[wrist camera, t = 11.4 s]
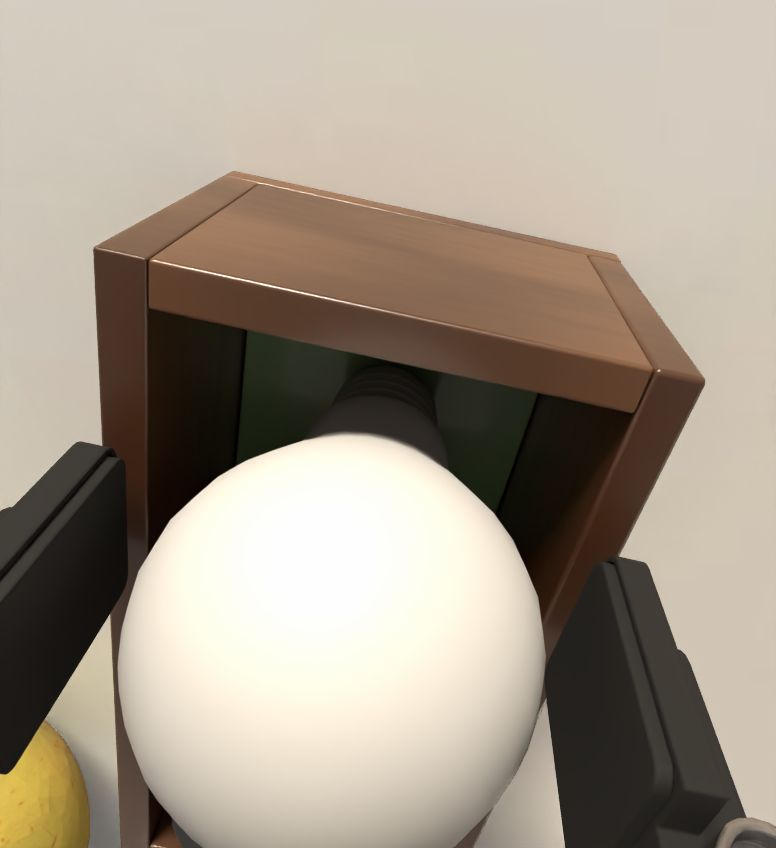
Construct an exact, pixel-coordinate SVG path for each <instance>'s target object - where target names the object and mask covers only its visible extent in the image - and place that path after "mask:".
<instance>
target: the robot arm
mask: <svg viewBox="0 0 776 848" xmlns="http://www.w3.org/2000/svg"><path fill="white" fill-rule="evenodd" d="M127 579H128V539H127V500H126V466H125V462H124V460H123V459H119V458H117V455H116V452H115V450H114V449H112V448H109V447H104V446H99V445H95V444H90V443H85V442H77V443H75V444H74V445H73V446H72V447H71V448H70V449H69V450H68V451H67V452H66V453H65V454H64V455H63V456H62V457H61V458H60V459H59V460H58V461H57V462H56V463H55V464H54V465H53V466H52V467H51V468H50V469H49V470H48V471H47V472H46V473H45V474H44V476H43V477H42V478H41V479H40V480H39V481H38V482H37V483H36V484H35V485H34V486H33V487H32V488H31V489H30V490H29V491H28V492H27V493H26V494H25V495H24V496H23V497H22V498H21V499H20V500H19V501H18V502H17V503H16V504H15V505H14V506H13V507H9V508H6V509H3V510H1V511H0V774H3V775H6V774H8V773H10V772H11V771H12V770H13V768H14V767H15V766H16V764H17V763H18V761H19V760H20V758H21V756H22V755H23V753H24V751H25V750H26V748H27V747H28V745H29V743H30V742H31V740H32V739H33V737H34V735H35V734H36V732H37V731H38V729H39V727H40V726H41V724H42V722H43V721H44V719H45V718H46V716H47V714H48V713H49V711H50V710H51V708H52V706H53V705H54V703H55V702H56V700H57V698H58V697H59V695H60V693H61V692H62V690H63V689H64V687H65V685H66V684H67V682H68V681H69V679H70V677H71V676H72V674H73V673H74V671H75V669H76V668H77V666H78V664H79V663H80V661H81V660H82V658H83V656H84V655H85V653H86V652H87V650H88V648H89V647H90V645H91V644H92V642H93V640H94V639H95V637H96V635H97V634H98V632H99V631H100V629H101V627H102V626H103V624H104V623H105V621H106V619H107V618H108V616H109V615H110V613H111V611H112V610H113V608H114V606H115V605H116V603H117V602H118V600H119V598H120V597H121V595H122V593H123V591H124V589H125V586H126V583H127ZM545 691H546V699H547V707H548V715H549V723H550V731H551V738H552V746H553V754H554V762H555V770H556V778H557V786H558V794H559V802H560V809H561V817H562V825H563V833H564V841H565V848H776V826H774V825H772V824H770V823H768V822H765V821H761V820H758V819H755V818H746V815H745V812H744V810H743V807H742V804H741V801H740V799H739V796H738V793H737V790H736V788H735V785H734V782H733V779H732V777H731V774H730V771H729V769H728V766H727V763H726V760H725V758H724V755H723V752H722V749H721V747H720V744H719V741H718V738H717V736H716V733H715V730H714V728H713V725H712V722H711V719H710V717H709V714H708V711H707V708H706V706H705V703H704V700H703V697H702V695H701V692H700V689H699V687H698V684H697V681H696V678H695V676H694V673H693V670H692V667H691V665H690V662H689V661H688V659H687V657H686V655H685V654H684V653H683V652H682V651H681V650H678V649H677V646H676V643H675V641H674V638H673V635H672V632H671V629H670V626H669V624H668V621H667V618H666V615H665V612H664V609H663V607H662V604H661V601H660V598H659V595H658V592H657V590H656V587H655V584H654V581H653V578H652V576H651V573H650V570H649V568H648V566H647V564H646V563H644V562H641V561H636V560H631V559H627V558H622V557H617V556H610V557H608V558H607V560H606V561H605V562H600V561H599V562H597V563H595V565H594V566H593V568H592V570H591V573H590V575H589V577H588V579H587V581H586V583H585V585H584V587H583V589H582V591H581V593H580V596H579V598H578V600H577V602H576V604H575V606H574V608H573V610H572V612H571V614H570V616H569V618H568V621H567V623H566V625H565V627H564V629H563V631H562V633H561V635H560V637H559V639H558V641H557V644H556V646H555V648H554V650H553V652H552V654H551V656H550V658H549V660H548V663H547V666H546V670H545Z"/></svg>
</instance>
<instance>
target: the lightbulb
mask: <svg viewBox="0 0 776 848" xmlns="http://www.w3.org/2000/svg"><path fill="white" fill-rule="evenodd" d="M437 425H438V420H437V415H436V407H435V402H434V399H433V397H432V394H431V392H430V391H429V389H428V388H427V386H426V385H425V384H424V383H423V382H422V381H421V380H420V379H419V378H418V377H416V376H414V375H413V374H411V373H410V372H407V371H405V370H402V369H400V368H395V367H391V366H376V367H370V368H367V369H364V370H361V371H359V372H357V373H356V374H354V375H352V376H351V377H350V378H349V379H348V380H347V381H346V382H345V383H344V384H343V386H342V387H341V389H340V390H339V392H338V393H337V394H336V396H335V399H334V401H333V402H332V405H331V407H329V408H328V409H327V410H326V411H324V412H323V413H322V414H321V415H320V416H319V417H318V418H317V419H316V421H315V422H314V423H313V425H312V426H311V428H310V429H309V431H308V433H307V435H306V437H305V439H304V440H303V441H300V442H297V443H294V444H291V445H288V446H285V447H282V448H279V449H276V450H273V451H270V452H268V453H265V454H262V455H260V456H257V457H254V458H252V459H249V460H246V461H245V462H243V463H241V464H239V465H238V466H236V467H234V468H232V469H231V470H229V471H227V472H225V473H224V474H222V475H220V476H218V477H217V478H216V479H215V480H214V481H212V482H211V483H210V484H209V485H208V486H207V487H206V488H204V489H203V490H202V491H201V492H200V493H199V494H198V495H196V496H195V497H194V498H193V499H192V500H191V501H190V502H189V503H188V504H187V505H186V506H185V507H184V508H182V509H181V510H180V511H179V512H178V513H177V514H176V515H175V516H174V517H173V518H172V519H171V520H170V521H169V523H168V524H167V526H166V528H165V529H164V531H163V533H162V534H161V536H160V537H159V539H158V541H157V542H156V544H155V545H154V547H153V549H152V550H151V552H150V554H149V555H148V557H147V558H146V560H145V562H144V563H143V565H142V566H141V568H140V570H139V572H138V575H137V578H136V581H135V584H134V587H133V591H132V594H131V597H130V600H129V603H128V607H127V611H126V615H125V618H124V622H123V626H122V630H121V638H120V647H119V656H118V686H119V696H120V702H121V708H122V714H123V719H124V725H125V729H126V732H127V735H128V738H129V741H130V744H131V747H132V750H133V752H134V755H135V757H136V760H137V762H138V765H139V767H140V770H141V772H142V775H143V778H144V780H145V782H146V784H147V785H148V787H149V788H150V790H151V792H152V793H153V795H154V796H155V798H156V799H157V801H158V802H159V803H160V804H161V805H162V807H163V808H164V809H165V810H166V811H167V812H168V814H169V815H170V816H171V817H172V818H173V819H174V821H175V822H176V823H177V824H178V825H179V826H180V827H181V828H182V829H183V830H184V831H185V833H186V834H187V835H188V836H189V837H190V838H191V839H192V840H193V841H195V842H196V843H197V844H199V845H200V846H201V847H203V848H453V847H454V846H456V845H457V844H458V843H459V842H460V841H461V840H462V839H463V838H464V837H465V836H466V835H467V834H468V833H469V832H470V831H471V830H472V829H473V828H474V827H475V826H476V825H477V824H478V823H479V822H480V821H481V820H482V818H483V817H484V816H485V815H486V814H487V813H488V812H489V811H490V810H491V809H492V808H493V807H494V805H495V804H496V803H497V802H498V800H499V799H500V797H501V795H502V794H503V792H504V791H505V789H506V788H507V786H508V785H509V783H510V782H511V780H512V779H513V777H514V776H515V774H516V772H517V770H518V768H519V766H520V764H521V762H522V760H523V758H524V756H525V754H526V752H527V750H528V747H529V744H530V741H531V737H532V734H533V731H534V728H535V725H536V722H537V718H538V714H539V707H540V701H541V695H542V689H543V680H544V671H545V662H546V652H545V644H544V637H543V629H542V622H541V615H540V607H539V600H538V596H537V594H536V591H535V589H534V586H533V584H532V582H531V579H530V577H529V574H528V572H527V570H526V567H525V565H524V563H523V561H522V559H521V556H520V554H519V552H518V550H517V548H516V546H515V544H514V541H513V539H512V538H511V537H510V535H509V534H508V532H507V531H506V530H505V528H504V527H503V525H502V524H501V523H500V521H499V520H498V519H497V517H496V516H495V514H494V513H493V512H492V511H491V510H490V509H489V508H488V507H487V506H486V505H485V504H484V503H483V502H482V501H481V500H480V499H479V498H478V497H477V496H475V495H474V494H473V493H472V492H471V491H470V490H469V489H468V488H467V487H466V486H465V485H464V484H463V483H462V482H460V481H459V480H458V479H457V478H456V477H455V476H454V475H453V474H452V473H450V472H449V469H448V457H447V451H446V446H445V443H444V441H443V439H442V437H441V434H440V432H439V431H438V427H437Z"/></svg>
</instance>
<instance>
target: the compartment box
mask: <svg viewBox="0 0 776 848" xmlns="http://www.w3.org/2000/svg"><path fill="white" fill-rule="evenodd" d="M93 252H94V274H95V295H96V317H97V338H98V360H99V381H100V403H101V424H102V446H104V447H109V448H112V449H114V450H115V452H116V455H117V458H119V459H123V460H124V462H125V466H126V500H127V539H128V579H127V583H126V586H125V589H124V591H123V593H122V595H121V597H120V598H119V600H118V602H117V603H116V605H115V606H114V608H113V610H112V611H111V613H110V618H111V639H112V661H113V682H114V704H115V725H116V747H117V768H118V790H119V811H120V832H121V848H183V846H182V845H181V844H180V842H179V840H178V839H177V837H176V835H175V832H174V829H173V825H172V817H171V816H170V815H169V814H168V812H167V811H166V810H165V809H164V808H163V807H162V805H161V804H160V803H159V802H158V801H157V799H156V798H155V796H154V795H153V793H152V792H151V790H150V788H149V787H148V785H147V784H146V782H145V780H144V778H143V775H142V772H141V770H140V767H139V765H138V762H137V760H136V757H135V755H134V752H133V750H132V747H131V744H130V741H129V738H128V735H127V732H126V729H125V725H124V719H123V714H122V708H121V702H120V696H119V686H118V656H119V647H120V638H121V630H122V626H123V622H124V618H125V615H126V611H127V607H128V603H129V600H130V597H131V594H132V591H133V587H134V584H135V581H136V578H137V575H138V572H139V570H140V568H141V566H142V565H143V563H144V562H145V560H146V558H147V557H148V555H149V554H150V552H151V550H152V549H153V547H154V545H155V544H156V542H157V541H158V539H159V537H160V536H161V534H162V533H163V531H164V529H165V528H166V526H167V524H168V523H169V521H170V520H171V519H172V518H173V517H174V516H175V515H176V514H177V513H178V512H179V511H180V510H181V509H182V508H184V507H185V506H186V505H187V504H188V503H189V502H190V501H191V500H192V499H193V498H194V497H195V496H196V495H198V494H199V493H200V492H201V491H202V490H203V489H204V488H206V487H207V486H208V485H209V484H210V483H211V482H212V481H214V480H215V479H216V478H217V477H218V476H220V475H222V474H224V473H225V472H227V471H229V470H231V469H232V468H234V467H236V466H238V465H239V464H241V463H243V462H245V461H246V460H249V459H252V458H254V457H257V456H260V455H262V454H265V453H268V452H270V451H273V450H276V449H279V448H282V447H285V446H288V445H291V444H294V443H297V442H300V441H303V440H304V439H305V437H306V435H307V433H308V431H309V429H310V428H311V426H312V425H313V423H314V422H315V421H316V419H317V418H318V417H319V416H320V415H321V414H322V413H323V412H324V411H326V410H327V409H328V408H329V407H331V405H332V402H333V401H334V399H335V396H336V394H337V393H338V392H339V390H340V389H341V387H342V386H343V384H344V383H345V382H346V381H347V380H348V379H349V378H350V377H351V376H352V375H354V374H356V373H357V372H359V371H361V370H364V369H367V368H370V367H376V366H391V367H395V368H400V369H402V370H405V371H407V372H410V373H411V374H413V375H414V376H416V377H418V378H419V379H420V380H421V381H422V382H423V383H424V384H425V385H426V386H427V388H428V389H429V391H430V392H431V394H432V397H433V399H434V402H435V407H436V415H437V420H438V425H437V427H438V431H439V432H440V434H441V437H442V439H443V441H444V443H445V446H446V451H447V457H448V469H449V472H450V473H452V474H453V475H454V476H455V477H456V478H457V479H458V480H459V481H460V482H462V483H463V484H464V485H465V486H466V487H467V488H468V489H469V490H470V491H471V492H472V493H473V494H474V495H475V496H477V497H478V498H479V499H480V500H481V501H482V502H483V503H484V504H485V505H486V506H487V507H488V508H489V509H490V510H491V511H492V512H493V513H494V514H495V516H496V517H497V519H498V520H499V521H500V523H501V524H502V525H503V527H504V528H505V530H506V531H507V532H508V534H509V535H510V537H511V538H512V539H513V541H514V544H515V546H516V548H517V550H518V552H519V554H520V556H521V559H522V561H523V563H524V565H525V567H526V570H527V572H528V574H529V577H530V579H531V582H532V584H533V586H534V589H535V591H536V594H537V596H538V600H539V607H540V615H541V622H542V629H543V637H544V644H545V652H546V662H545V670H546V666H547V663H548V660H549V658H550V656H551V654H552V652H553V650H554V648H555V646H556V644H557V641H558V639H559V637H560V635H561V633H562V631H563V629H564V627H565V625H566V623H567V621H568V618H569V616H570V614H571V612H572V610H573V608H574V606H575V604H576V602H577V600H578V598H579V596H580V593H581V591H582V589H583V587H584V585H585V583H586V581H587V579H588V577H589V575H590V573H591V570H592V568H593V566H594V565H595V563H597V562H599V561H600V562H605V561H606V560H607V558H608V557H610V556H617V557H619V555H620V553H621V551H622V549H623V547H624V545H625V543H626V541H627V539H628V537H629V535H630V533H631V531H632V529H633V527H634V525H635V523H636V521H637V519H638V517H639V515H640V513H641V511H642V509H643V507H644V505H645V503H646V501H647V499H648V497H649V495H650V493H651V491H652V489H653V487H654V485H655V483H656V481H657V479H658V477H659V475H660V473H661V471H662V469H663V467H664V465H665V463H666V461H667V459H668V457H669V455H670V453H671V451H672V449H673V447H674V445H675V443H676V441H677V439H678V437H679V435H680V433H681V431H682V429H683V427H684V425H685V423H686V421H687V419H688V417H689V415H690V413H691V411H692V409H693V407H694V405H695V403H696V401H697V399H698V397H699V395H700V393H701V391H702V389H703V387H704V385H705V378H704V377H703V376H702V374H701V373H700V372H699V370H698V369H697V367H696V366H695V365H694V363H693V362H692V360H691V359H690V358H689V356H688V355H687V354H686V352H685V351H684V349H683V348H682V347H681V345H680V344H679V343H678V341H677V340H676V338H675V337H674V336H673V334H672V333H671V332H670V330H669V329H668V327H667V326H666V325H665V323H664V322H663V320H662V319H661V318H660V316H659V315H658V314H657V312H656V311H655V309H654V308H653V307H652V305H651V304H650V303H649V301H648V300H647V298H646V297H645V296H644V294H643V293H642V291H641V290H640V289H639V287H638V286H637V285H636V283H635V282H634V280H633V279H632V278H631V276H630V275H629V274H628V272H627V271H626V269H625V268H624V267H623V265H622V264H621V261H620V260H619V258H618V257H617V256H616V255H615V254H610V253H606V252H601V251H597V250H592V249H588V248H583V247H578V246H574V245H569V244H565V243H560V242H556V241H551V240H546V239H542V238H537V237H533V236H528V235H524V234H519V233H515V232H510V231H505V230H501V229H496V228H492V227H487V226H483V225H478V224H473V223H469V222H464V221H460V220H455V219H451V218H446V217H441V216H437V215H432V214H428V213H423V212H419V211H414V210H409V209H405V208H400V207H396V206H391V205H387V204H382V203H377V202H373V201H368V200H364V199H359V198H355V197H350V196H345V195H341V194H336V193H332V192H327V191H323V190H318V189H314V188H309V187H304V186H300V185H295V184H291V183H286V182H282V181H277V180H272V179H268V178H263V177H259V176H254V175H250V174H245V173H240V172H236V171H232V172H230V173H228V174H227V175H225V176H223V177H221V178H219V179H217V180H215V181H214V182H212V183H210V184H208V185H206V186H204V187H203V188H201V189H199V190H197V191H195V192H194V193H192V194H190V195H188V196H186V197H184V198H183V199H181V200H179V201H177V202H175V203H173V204H172V205H170V206H168V207H166V208H164V209H163V210H161V211H159V212H157V213H155V214H153V215H152V216H150V217H148V218H146V219H144V220H142V221H141V222H139V223H137V224H135V225H133V226H132V227H130V228H128V229H126V230H124V231H122V232H121V233H119V234H117V235H115V236H113V237H111V238H110V239H108V240H106V241H104V242H102V243H101V244H99V245H97V246H95V247H94V249H93ZM546 701H547V699H546V691H545V671H544V680H543V689H542V695H541V701H540V707H539V714H538V717H539V715H540V713H541V711H542V709H543V707H544V705H545V703H546ZM537 719H538V718H537ZM492 809H493V808H492ZM492 809H491V810H490V811H489V812H488V813H487V814H486V815H485V816H484V817H483V818H482V820H481V821H480V822H479V823H478V824H477V825H476V826H475V827H474V828H473V829H472V830H471V831H470V832H469V833H468V834H467V835H466V836H465V837H464V838H463V839H462V840H461V841H460V842H459V843H458V844H457V845H456V846H454V847H453V848H473V847H474V845H475V843H476V841H477V839H478V837H479V835H480V833H481V831H482V829H483V827H484V825H485V823H486V821H487V819H488V817H489V815H490V813H491V811H492Z"/></svg>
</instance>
